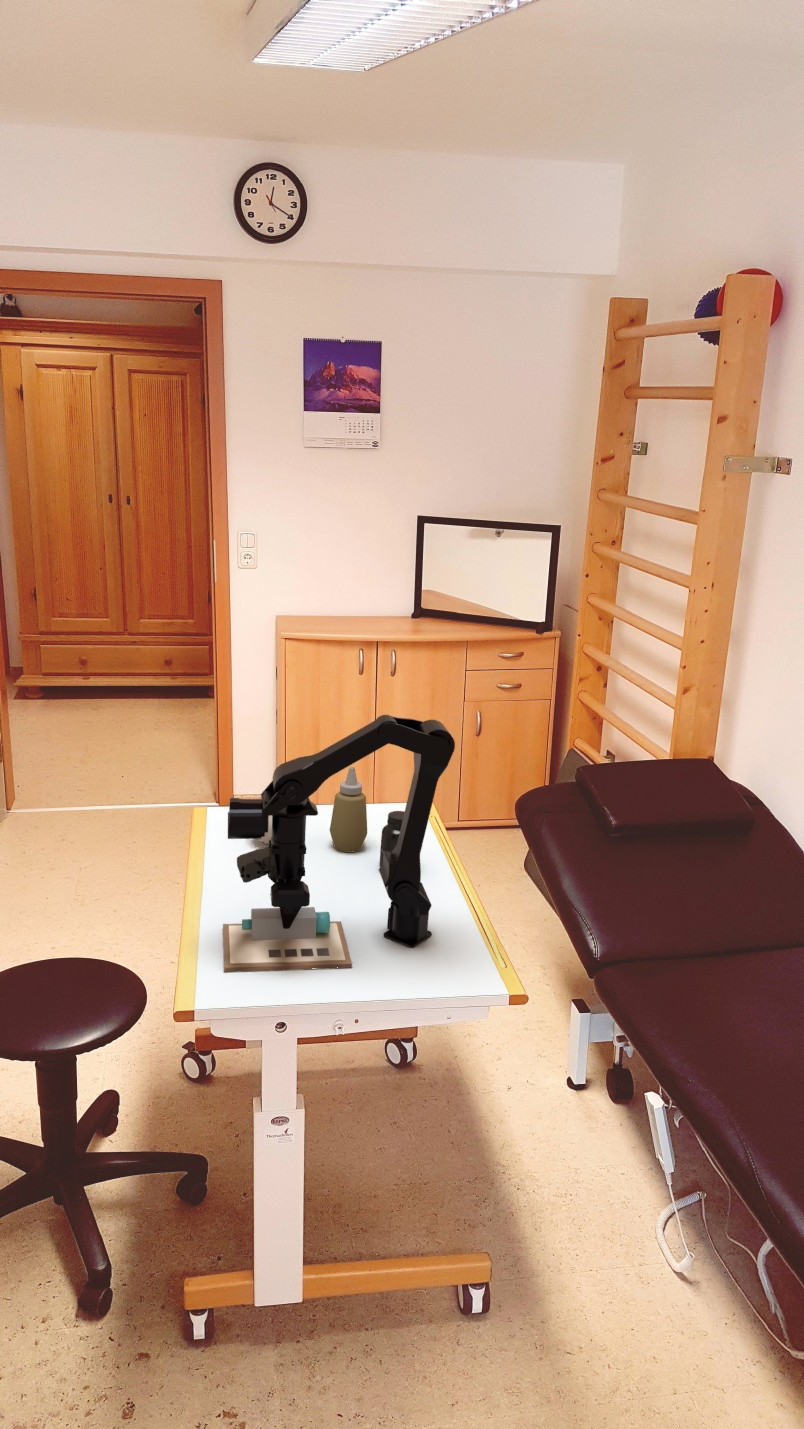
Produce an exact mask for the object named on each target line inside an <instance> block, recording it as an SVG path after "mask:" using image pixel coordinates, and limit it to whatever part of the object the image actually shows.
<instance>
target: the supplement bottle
mask: <svg viewBox="0 0 804 1429" xmlns="http://www.w3.org/2000/svg"><path fill="white" fill-rule="evenodd" d="M404 812H405V810H404V811H403V810H394V811H390V812H388V814H387V820H386V821H387V822H386V823H387V824H385V825H384V826H383V827H382V829H381V837H380V849H379V850H380V851H379V862H378V863H379V866H378V867H379V868H380V867H381V866H382V863H383V853H384V851H387V852H392V851H393V849H394V848H395V847H396V845H397V842H398V838H399V834H400V829H401V825H402V821H403V817H404Z"/></svg>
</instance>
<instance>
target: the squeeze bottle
mask: <svg viewBox="0 0 804 1429" xmlns="http://www.w3.org/2000/svg"><path fill="white" fill-rule="evenodd" d="M367 811H368V810H367V796H366V794H364V793H363V784H362V783H361V782H360V781H358V778H357V774H356V768H355V767H354V766H349V768H348V771H347V774H346V778H345V781H342V782H340V784H339V791H337V793H335V794H334V801H333V808H332V814H331V818H330V819H331V820H330V825H329V826H330V827H329V833H330V836H331V840H332V844H333V847H334V849H336V850H337V851H340V852H344V853H345V852H346V853H353V852H358V851H359V850H361V849H362V848H363V845H364V842H365V840H366V837H367V835H368V813H367Z"/></svg>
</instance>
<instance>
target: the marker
mask: <svg viewBox="0 0 804 1429" xmlns="http://www.w3.org/2000/svg"><path fill="white" fill-rule="evenodd" d="M315 908H316V907H314V906H307V907H301V909H300V910H299V912H298V914H297V916H296V918H295V919H294V921H293V923H292V925H291V927H290V928H289V929H284V928H283V924H282V919H281V913H280V907H264V908H261V907H260V908H251V909H250V910H251V911H250V918H246V919H245V918H244V919H243V918H242V919H241V924H242V930H251V938H252V940H286V939H316V933H329V931H330V922H331V916H330V912H329V911H316V909H315Z"/></svg>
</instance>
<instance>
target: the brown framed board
mask: <svg viewBox="0 0 804 1429" xmlns="http://www.w3.org/2000/svg"><path fill="white" fill-rule="evenodd" d="M346 938H347V937H346V935H345V931H344V927H343V923H342V921H341V920H340V921H337V920H336V921H334V920H333V921H330V931H329V933H316V939H286V940H252V938H251V930H242V923H223V924H222V941H223V942H222V945H223V946H222V947H223V951H222V952H223V972H224V973H233V972H232V971H243V972H266V971H269V972H271V971H270V970H274V971H290V970H289V969H294V970H293V971H296V970H295V969H304V970H313V969H312V968H335V969H345V968H344V967H348V968H347V969H352V968H353V962H352V958H351V954H350V950H349V947H348V943H347V939H346ZM337 967H338V968H337ZM349 967H351V968H349ZM283 969H284V970H283Z"/></svg>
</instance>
